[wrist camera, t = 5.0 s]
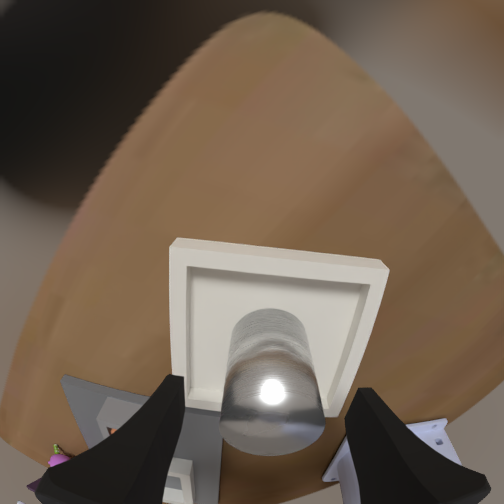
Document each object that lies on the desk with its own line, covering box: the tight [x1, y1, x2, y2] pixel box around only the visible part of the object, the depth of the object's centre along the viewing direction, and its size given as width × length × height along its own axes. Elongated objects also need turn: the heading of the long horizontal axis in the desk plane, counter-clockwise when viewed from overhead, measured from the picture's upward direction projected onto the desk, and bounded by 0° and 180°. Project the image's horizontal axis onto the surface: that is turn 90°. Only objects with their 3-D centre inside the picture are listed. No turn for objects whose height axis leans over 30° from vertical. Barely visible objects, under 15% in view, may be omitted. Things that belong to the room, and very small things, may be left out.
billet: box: [219, 308, 325, 456], centre depth 13 cm, size 4×4×6 cm
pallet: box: [60, 375, 223, 504], centre depth 19 cm, size 12×16×3 cm
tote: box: [169, 237, 390, 417], centre depth 15 cm, size 10×10×1 cm
